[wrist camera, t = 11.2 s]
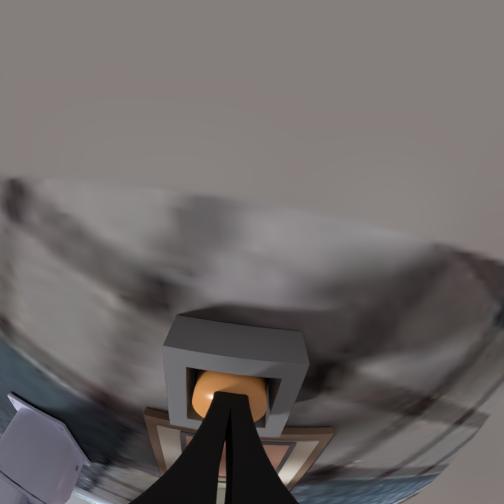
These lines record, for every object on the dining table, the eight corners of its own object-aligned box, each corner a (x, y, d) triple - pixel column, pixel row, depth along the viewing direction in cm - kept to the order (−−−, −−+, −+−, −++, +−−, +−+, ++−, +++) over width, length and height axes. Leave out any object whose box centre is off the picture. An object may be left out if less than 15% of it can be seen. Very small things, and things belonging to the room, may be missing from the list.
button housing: (277, 407, 14) (279, 437, 12) (178, 394, 13) (170, 424, 11) (302, 331, 12) (309, 364, 10) (176, 314, 12) (163, 345, 10)
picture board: (275, 501, 21) (275, 507, 20) (168, 490, 20) (167, 495, 19) (332, 426, 15) (334, 435, 14) (146, 407, 14) (142, 416, 13)
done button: (259, 401, 13) (260, 428, 11) (197, 394, 12) (192, 420, 11) (271, 358, 12) (273, 387, 10) (199, 349, 11) (192, 377, 10)
